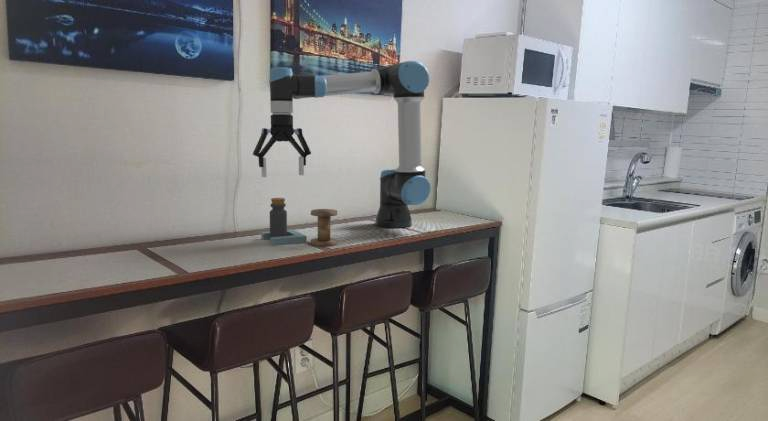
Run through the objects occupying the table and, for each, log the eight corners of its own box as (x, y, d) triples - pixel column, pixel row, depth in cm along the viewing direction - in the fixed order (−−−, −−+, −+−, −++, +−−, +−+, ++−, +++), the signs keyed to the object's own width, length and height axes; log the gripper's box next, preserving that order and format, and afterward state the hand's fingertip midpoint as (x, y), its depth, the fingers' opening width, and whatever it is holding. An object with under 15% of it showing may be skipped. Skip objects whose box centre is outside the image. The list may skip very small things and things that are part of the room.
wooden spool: (330, 240, 194) (330, 208, 192) (341, 245, 186) (341, 212, 184) (306, 242, 189) (306, 209, 187) (316, 247, 181) (317, 213, 180)
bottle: (266, 241, 189) (265, 198, 186) (277, 238, 194) (276, 197, 191) (280, 243, 186) (279, 200, 184) (290, 240, 191) (290, 198, 189)
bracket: (293, 236, 199) (293, 229, 199) (306, 242, 188) (306, 236, 188) (261, 238, 193) (261, 232, 193) (273, 246, 182) (272, 238, 182)
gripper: (311, 114, 195) (311, 173, 199) (242, 113, 183) (244, 176, 186) (319, 114, 189) (320, 175, 192) (249, 113, 176) (251, 178, 180)
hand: (283, 176), depth 189 cm, fingers open, 13 cm apart
